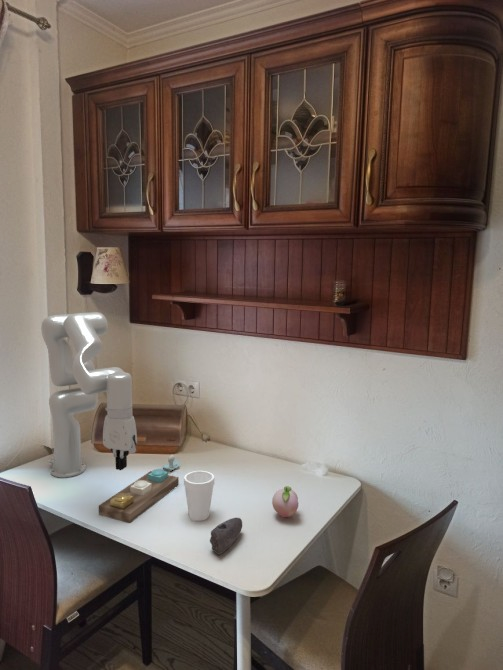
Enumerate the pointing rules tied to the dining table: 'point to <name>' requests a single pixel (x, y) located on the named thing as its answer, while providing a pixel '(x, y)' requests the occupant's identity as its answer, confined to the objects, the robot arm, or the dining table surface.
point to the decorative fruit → (285, 502)
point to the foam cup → (199, 494)
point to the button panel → (139, 499)
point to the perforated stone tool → (225, 534)
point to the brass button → (121, 501)
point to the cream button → (141, 487)
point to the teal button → (158, 475)
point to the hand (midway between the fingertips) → (121, 468)
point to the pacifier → (170, 464)
